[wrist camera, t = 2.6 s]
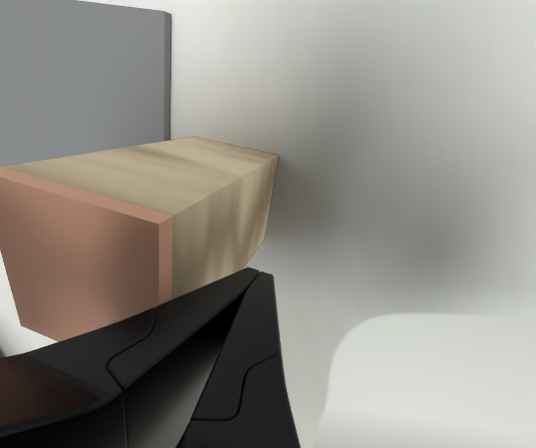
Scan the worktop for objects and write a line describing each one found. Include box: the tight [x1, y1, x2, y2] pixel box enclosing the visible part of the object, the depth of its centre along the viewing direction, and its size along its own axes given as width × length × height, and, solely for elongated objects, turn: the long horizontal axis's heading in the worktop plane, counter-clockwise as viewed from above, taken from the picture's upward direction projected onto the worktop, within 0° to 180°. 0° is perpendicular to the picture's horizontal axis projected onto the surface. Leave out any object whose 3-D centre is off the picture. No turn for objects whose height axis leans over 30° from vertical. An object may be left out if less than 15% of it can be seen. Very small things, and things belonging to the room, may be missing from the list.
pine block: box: [0, 137, 279, 342], centre depth 12 cm, size 5×5×10 cm
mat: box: [0, 0, 171, 167], centre depth 18 cm, size 16×14×1 cm
